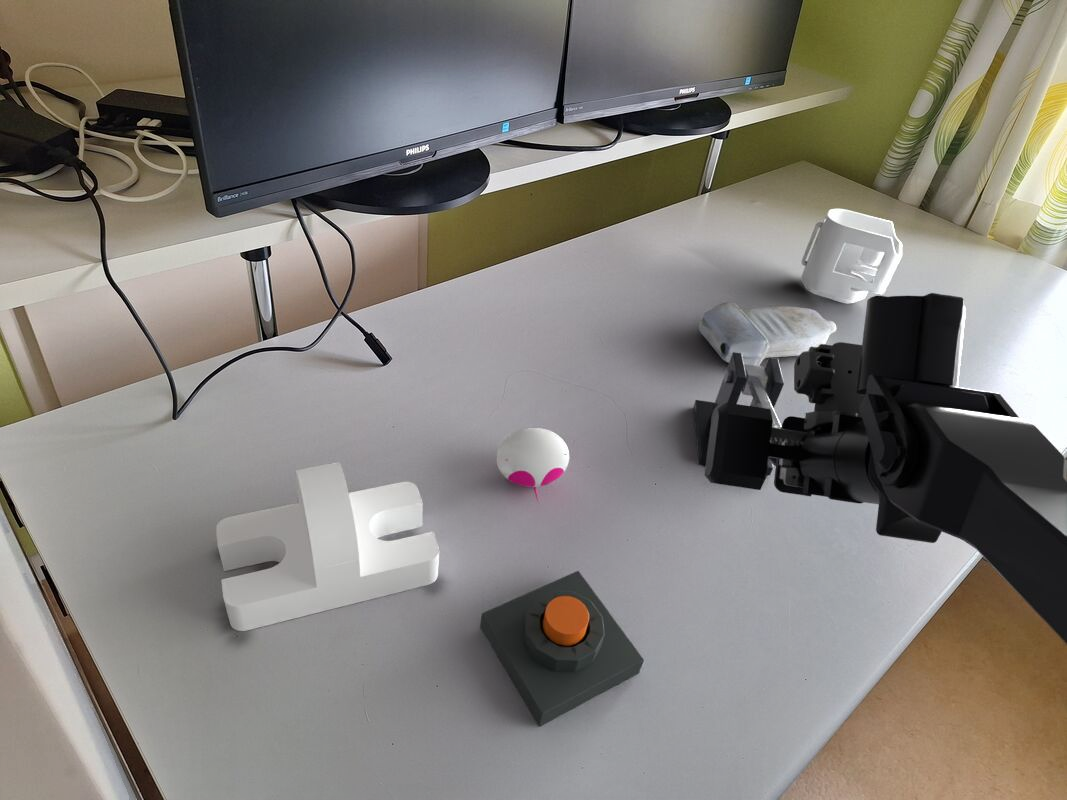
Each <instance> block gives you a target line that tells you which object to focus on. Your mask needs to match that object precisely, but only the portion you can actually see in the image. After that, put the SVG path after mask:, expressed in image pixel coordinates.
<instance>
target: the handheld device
mask: <svg viewBox="0 0 1067 800" xmlns="http://www.w3.org/2000/svg"><path fill="white" fill-rule="evenodd" d="M698 330H699V332H700V334H701V335H702V336H703V337H704V338H705V340H706V341H707V342H708V343H709V344H710V346H711V347H712V348H713V350H715V353H717V354H718V355H719V357H720V358H721V359H722V360H723V361H724V362H726V363H727V364H729V362H730V359H731V356H732V353H733V352H736V353H742V358H743V363H744V364H748V365H755V366H760V365H762V362H763V361H764V360H765V359H769V357H770V358H782V357H785V358H786V357H794V356H797V357H798V356H799V355H800V354H801V353H802V352H804V351H809V348H810V347H811V346H812V347H818V346H819V345H820V344H825V345H827V342H828V339H829V337H830V336H831V335H832V334H833V333H835V332H836V331H837V325H836V323H835V322H834V321H833V320H830V319H824V317H823V316H822V315H821V314H820V312H819V313H818V312H817V311H816V310H814V309H812V308H806V307H799V306H798V307H797V306H767V307H758V308H751V309H750V308H749V309H742V308H741V307H739V306H738V305H737V304H736V303H735V302H734V301H732V302H730V301H729V302H724V303H721V304H719V305H716V306H715V307H713V308H711V309H709V310H708V311H705V312H704V314H703V315H702V316H701V320H700V322H699V326H698Z"/></svg>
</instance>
